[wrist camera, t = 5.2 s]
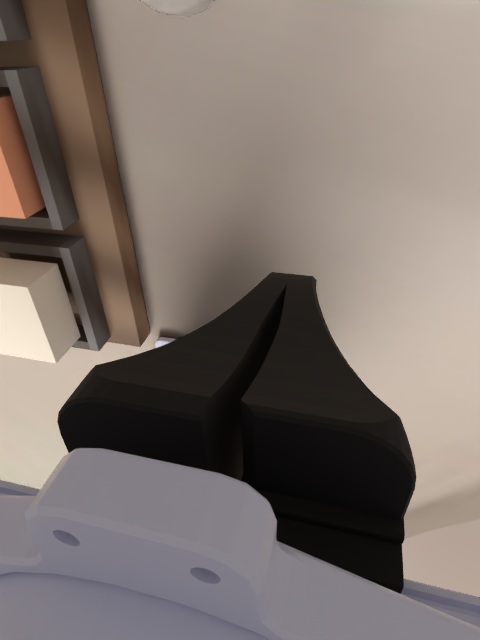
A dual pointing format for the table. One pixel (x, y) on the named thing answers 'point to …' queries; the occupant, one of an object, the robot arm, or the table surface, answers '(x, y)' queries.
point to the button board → (70, 169)
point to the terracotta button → (16, 167)
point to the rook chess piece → (179, 6)
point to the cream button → (34, 311)
